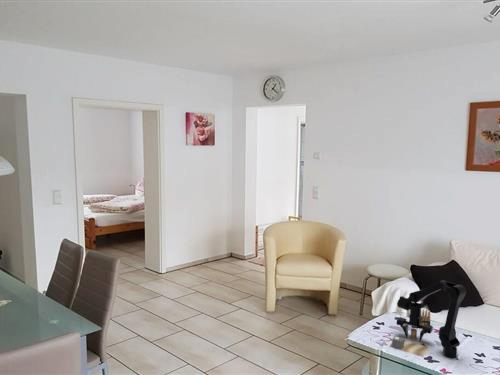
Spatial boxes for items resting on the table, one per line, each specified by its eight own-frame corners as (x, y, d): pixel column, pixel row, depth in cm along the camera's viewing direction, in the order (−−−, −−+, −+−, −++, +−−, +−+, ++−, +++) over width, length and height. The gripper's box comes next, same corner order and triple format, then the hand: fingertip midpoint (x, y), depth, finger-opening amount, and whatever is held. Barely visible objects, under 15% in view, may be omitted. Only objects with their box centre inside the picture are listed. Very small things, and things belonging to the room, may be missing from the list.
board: (429, 349, 226) (430, 347, 226) (422, 359, 215) (423, 357, 215) (396, 339, 237) (397, 337, 237) (388, 348, 226) (388, 346, 226)
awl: (417, 342, 235) (418, 330, 234) (412, 343, 234) (413, 331, 233) (414, 340, 237) (414, 328, 237) (409, 340, 237) (410, 328, 236)
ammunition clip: (429, 328, 255) (430, 309, 254) (430, 329, 253) (431, 310, 252) (411, 326, 256) (412, 308, 255) (412, 328, 255) (413, 309, 254)
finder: (403, 346, 227) (404, 338, 226) (401, 349, 223) (401, 341, 222) (394, 343, 230) (395, 335, 229) (391, 346, 226) (392, 338, 225)
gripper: (436, 313, 235) (434, 339, 236) (403, 305, 246) (401, 330, 248) (431, 319, 226) (429, 346, 227) (397, 310, 237) (395, 336, 239)
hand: (413, 339), depth 236 cm, fingers open, 7 cm apart
